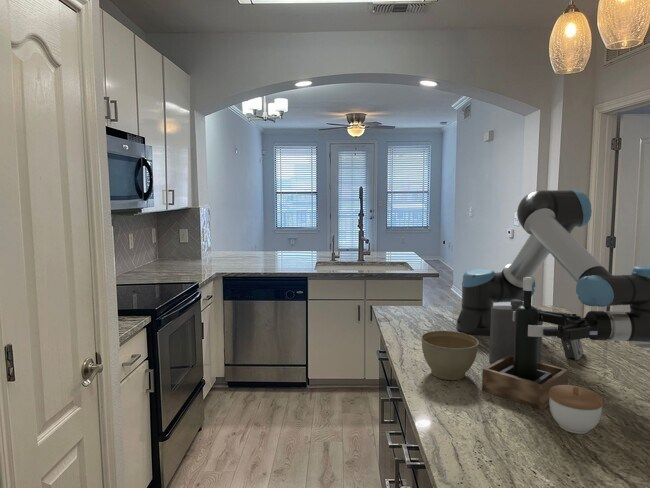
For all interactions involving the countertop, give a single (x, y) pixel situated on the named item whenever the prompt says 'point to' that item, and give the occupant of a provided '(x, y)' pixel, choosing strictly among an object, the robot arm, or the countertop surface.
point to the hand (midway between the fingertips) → (520, 323)
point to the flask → (505, 331)
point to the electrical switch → (572, 348)
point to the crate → (522, 382)
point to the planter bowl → (449, 353)
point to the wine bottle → (526, 336)
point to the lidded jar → (575, 408)
